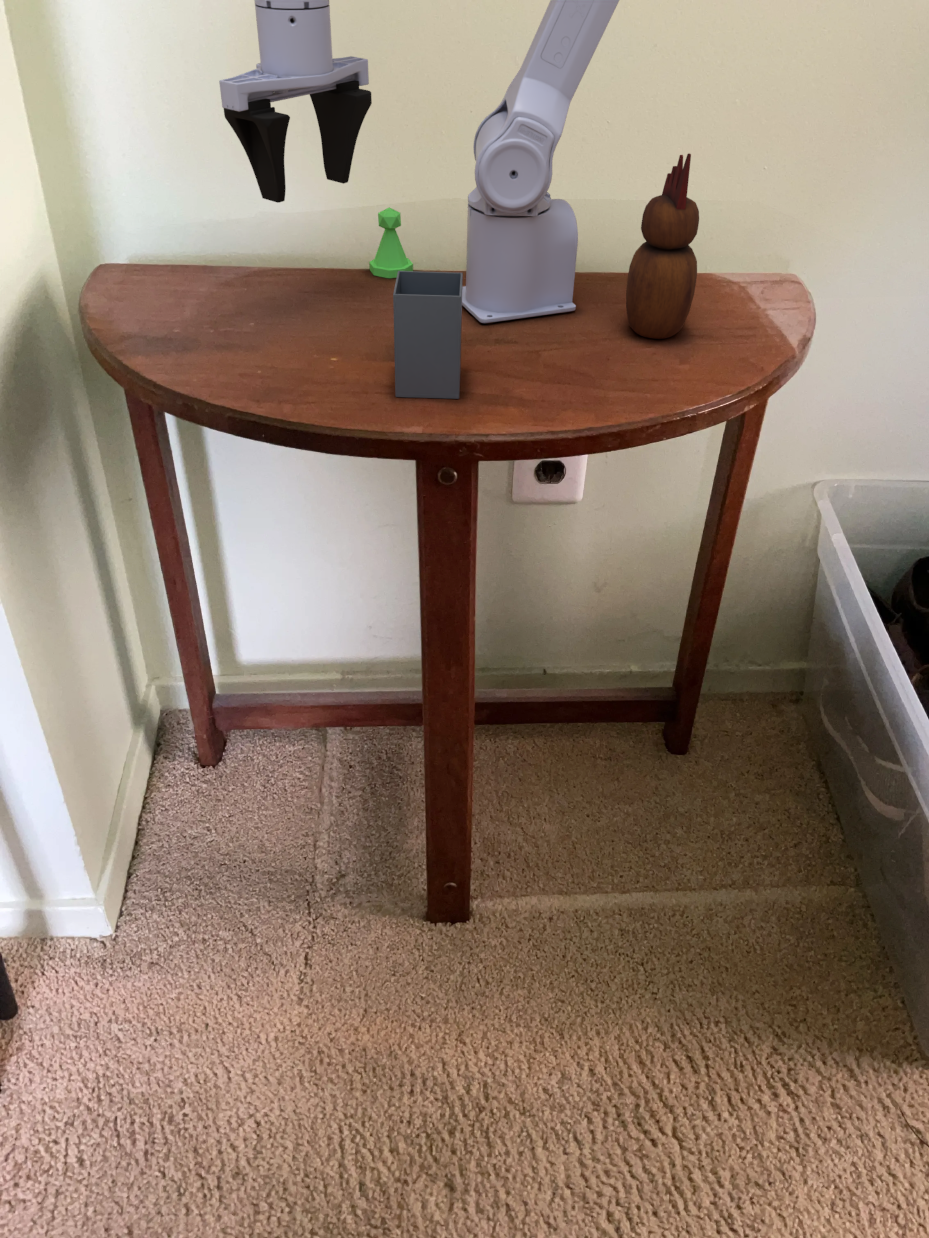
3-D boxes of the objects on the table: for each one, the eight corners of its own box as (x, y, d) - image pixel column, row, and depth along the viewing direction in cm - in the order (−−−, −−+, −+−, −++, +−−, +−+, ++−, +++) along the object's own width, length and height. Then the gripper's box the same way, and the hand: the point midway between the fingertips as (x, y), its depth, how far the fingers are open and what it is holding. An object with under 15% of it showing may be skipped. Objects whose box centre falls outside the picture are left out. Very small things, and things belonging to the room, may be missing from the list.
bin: (460, 371, 80) (462, 272, 75) (459, 399, 76) (461, 296, 71) (399, 370, 80) (397, 270, 75) (395, 397, 76) (393, 294, 71)
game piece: (410, 279, 96) (410, 215, 92) (366, 277, 96) (364, 213, 92) (415, 264, 99) (414, 201, 95) (372, 262, 99) (370, 199, 95)
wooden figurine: (686, 350, 84) (718, 161, 75) (618, 343, 85) (641, 155, 76) (688, 320, 89) (718, 140, 80) (624, 313, 90) (646, 135, 81)
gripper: (322, -9, 83) (332, 165, 91) (183, 8, 74) (209, 198, 82) (385, 0, 79) (389, 179, 88) (247, 19, 70) (267, 216, 79)
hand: (306, 190), depth 85 cm, fingers open, 7 cm apart
